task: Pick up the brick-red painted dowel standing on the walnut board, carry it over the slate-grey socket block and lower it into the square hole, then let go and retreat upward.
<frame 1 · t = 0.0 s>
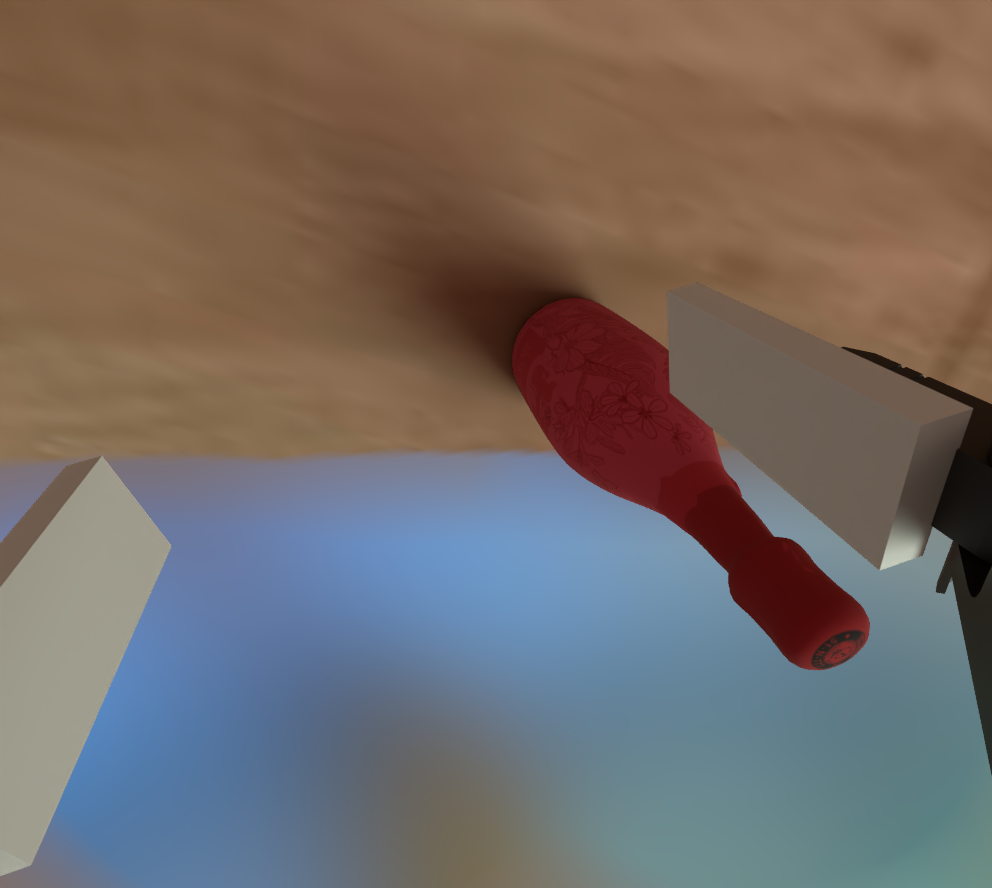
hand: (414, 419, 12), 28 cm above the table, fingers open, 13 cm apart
wine bottle: (562, 350, 44), on the table
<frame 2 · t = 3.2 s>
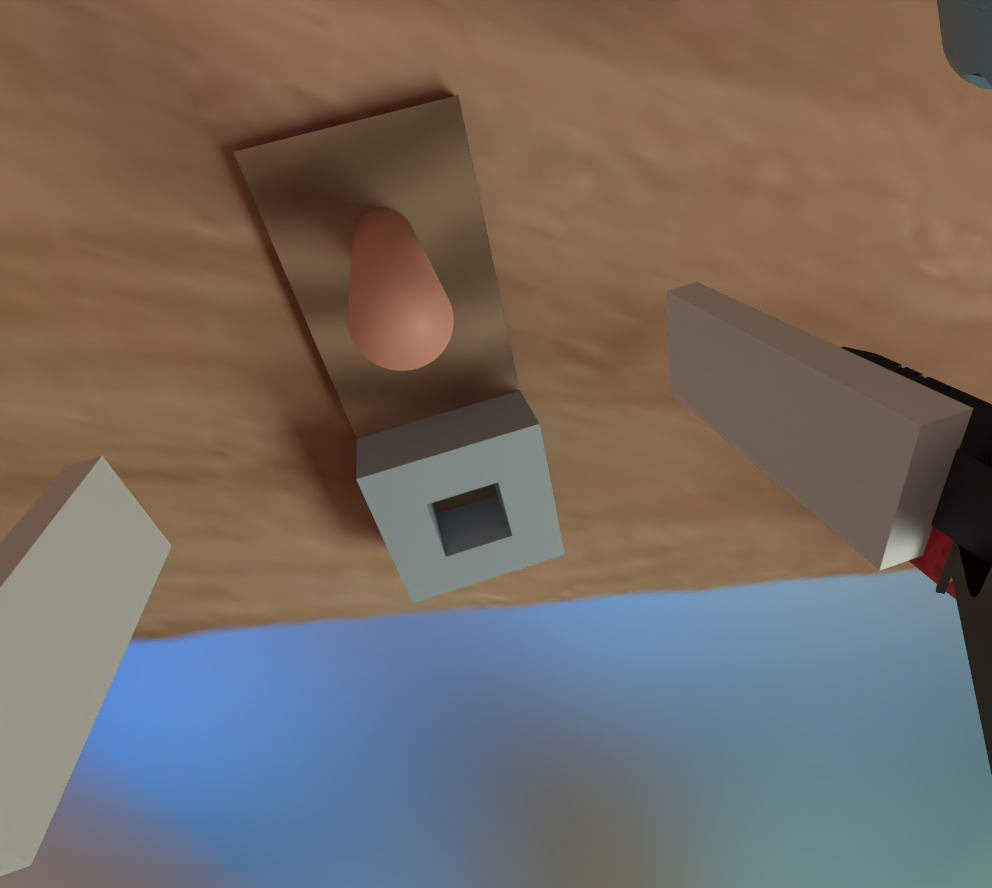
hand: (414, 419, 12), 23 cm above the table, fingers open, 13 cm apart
peg: (384, 241, 31), point 1 cm above the table, touching board
socket: (457, 472, 41), resting on board
board: (425, 371, 36), on the table
wine bottle: (914, 505, 57), on the table
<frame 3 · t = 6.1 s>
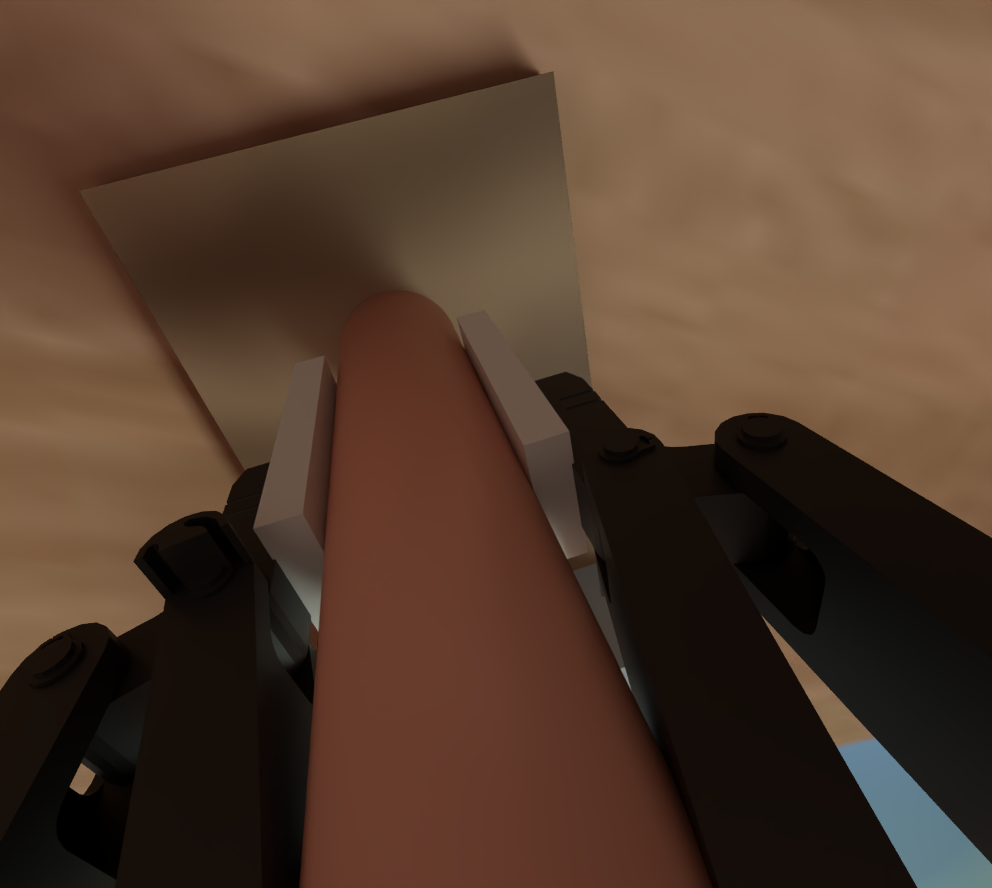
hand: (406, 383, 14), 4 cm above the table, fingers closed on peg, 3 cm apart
peg: (400, 349, 16), point 1 cm above the table, touching gripper
socket: (504, 661, 27), resting on board
board: (462, 536, 22), on the table
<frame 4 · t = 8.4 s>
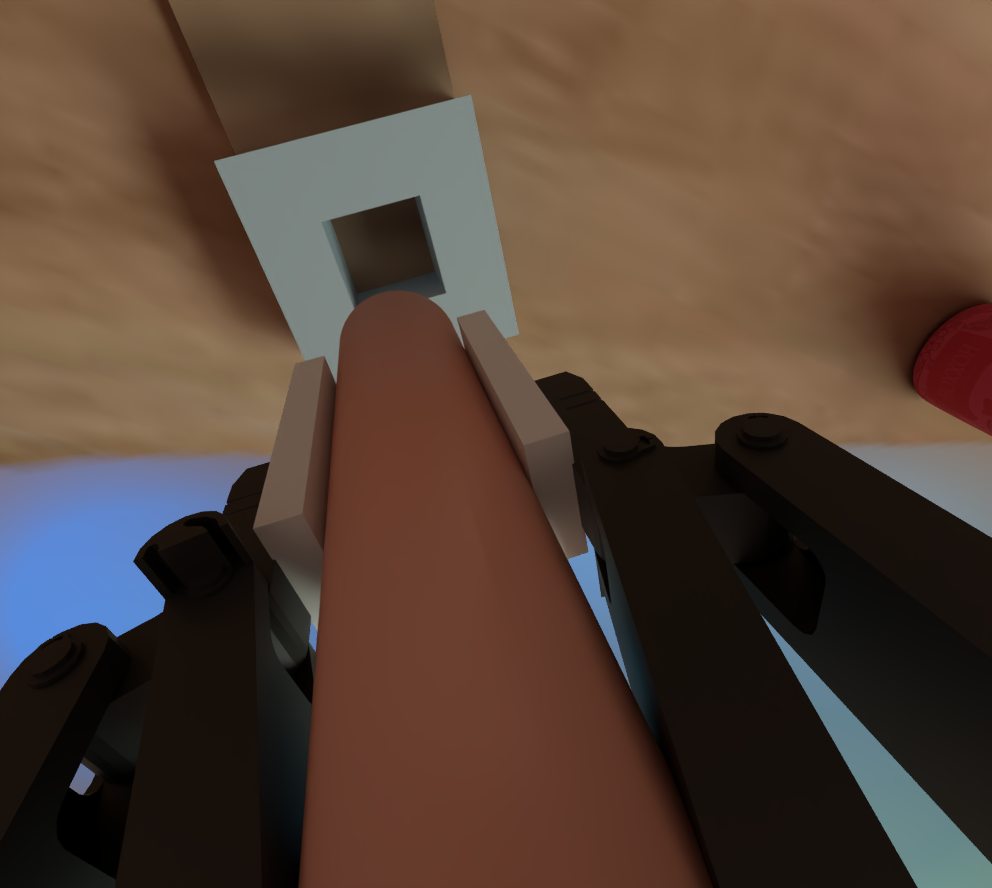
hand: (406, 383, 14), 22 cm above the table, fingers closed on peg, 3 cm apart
peg: (400, 349, 16), point 19 cm above the table, touching gripper
socket: (382, 238, 32), resting on board
board: (325, 60, 27), on the table
wine bottle: (951, 350, 48), on the table
when the fingers open (8 cm above the table, at t = 10.7 s): peg drops 3 cm, resting on board.
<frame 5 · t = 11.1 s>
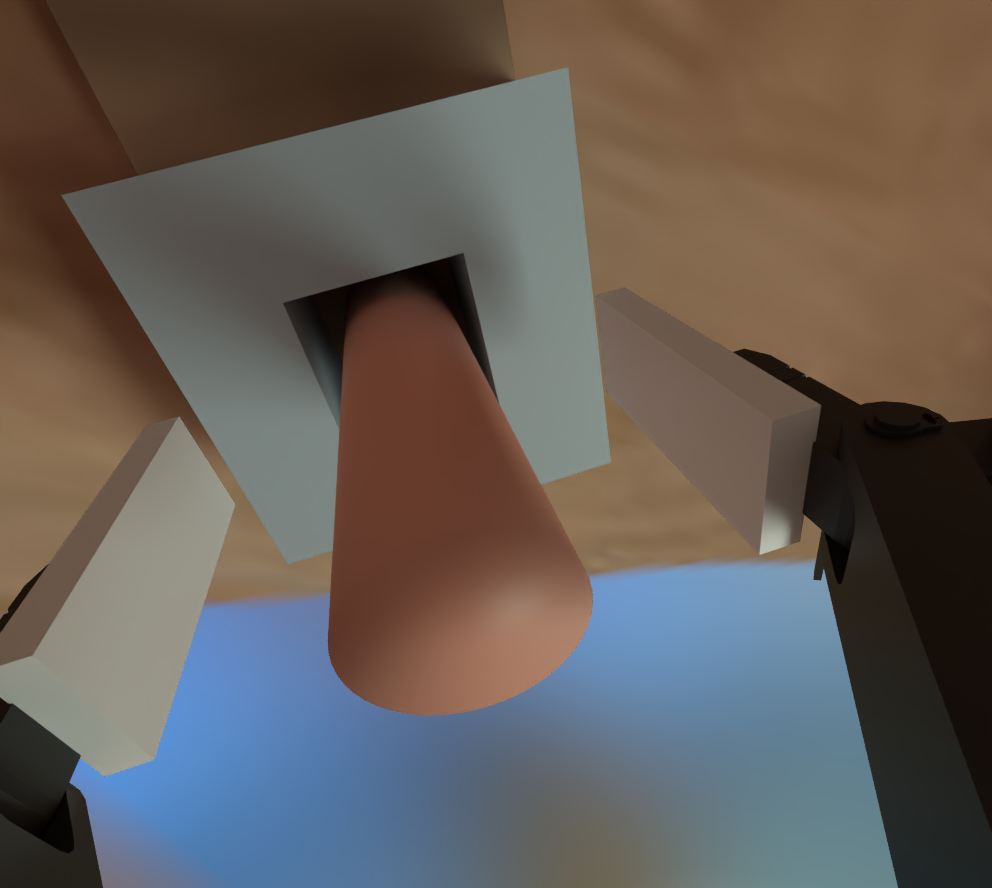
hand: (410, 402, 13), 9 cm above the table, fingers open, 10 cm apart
peg: (396, 309, 20), point 1 cm above the table, touching board
socket: (391, 303, 20), resting on board
board: (295, 12, 16), on the table
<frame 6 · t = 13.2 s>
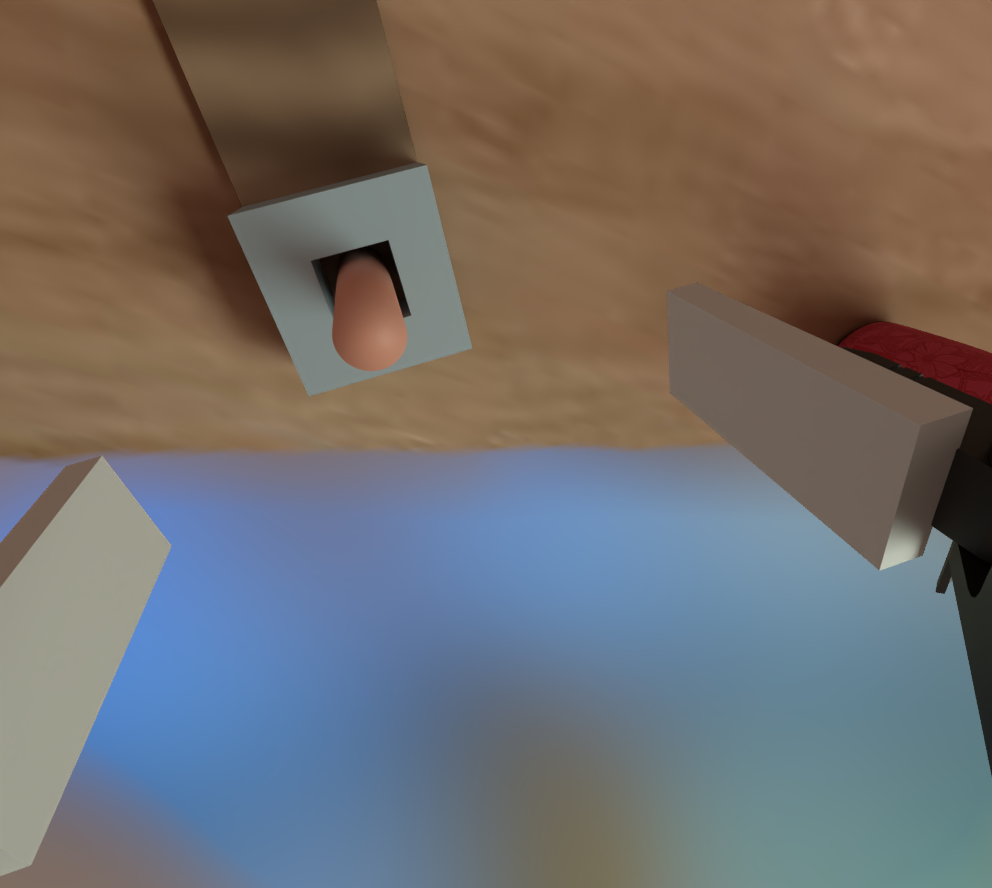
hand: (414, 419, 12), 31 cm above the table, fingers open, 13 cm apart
peg: (363, 272, 38), point 1 cm above the table, touching board
socket: (361, 270, 39), resting on board
board: (314, 133, 34), on the table
wine bottle: (855, 362, 55), on the table
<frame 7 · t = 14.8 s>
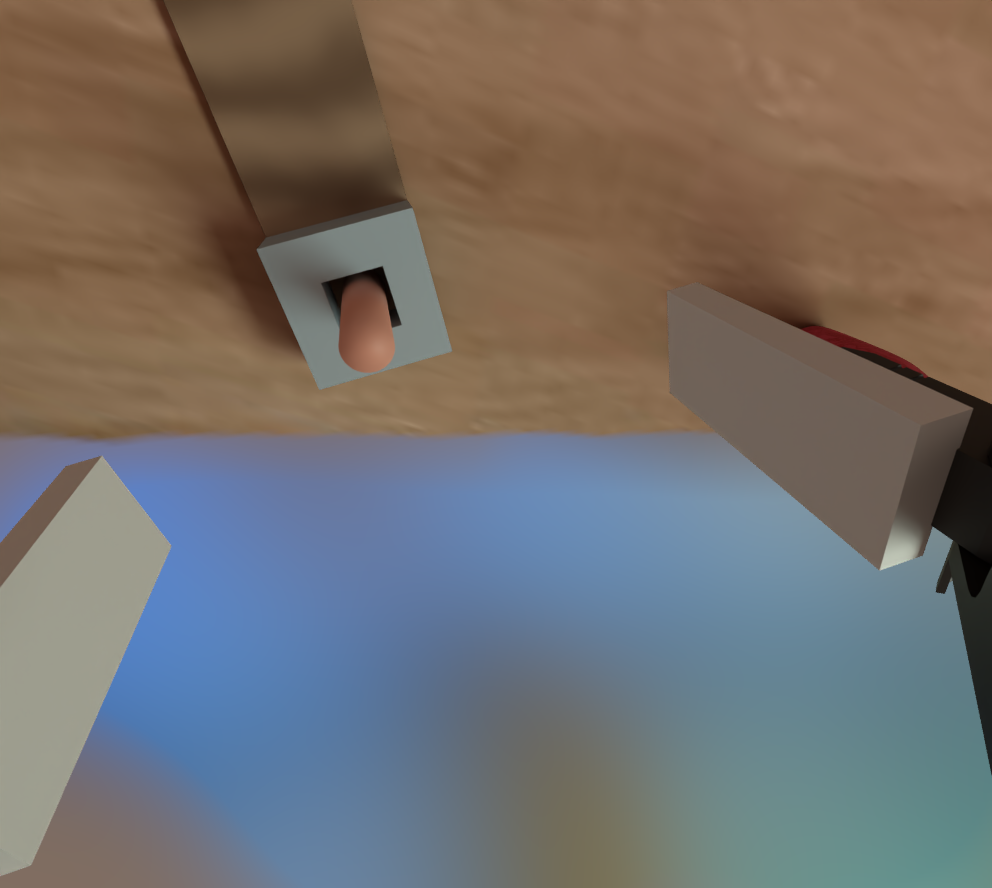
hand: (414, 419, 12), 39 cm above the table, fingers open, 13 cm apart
peg: (363, 288, 47), point 1 cm above the table, touching board
socket: (362, 286, 48), resting on board
board: (324, 178, 43), on the table
wine bottle: (794, 360, 63), on the table
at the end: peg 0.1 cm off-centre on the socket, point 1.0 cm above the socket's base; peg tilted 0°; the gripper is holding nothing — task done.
